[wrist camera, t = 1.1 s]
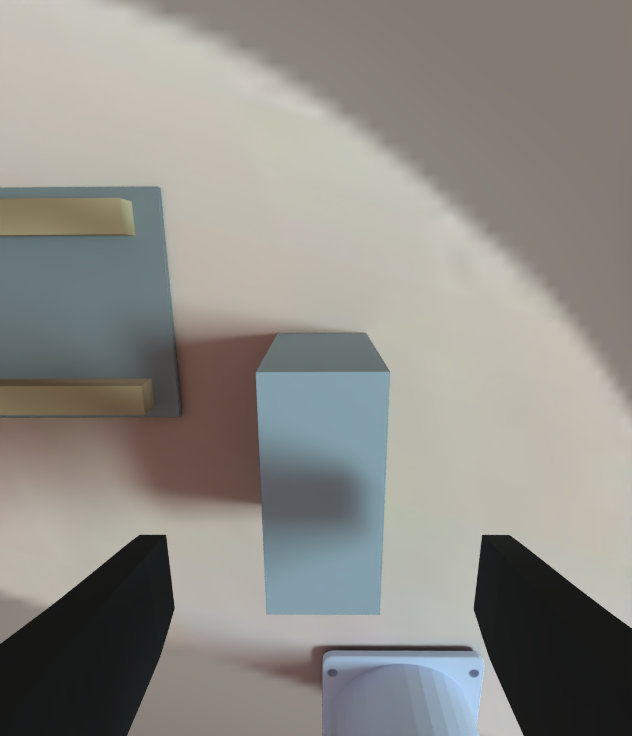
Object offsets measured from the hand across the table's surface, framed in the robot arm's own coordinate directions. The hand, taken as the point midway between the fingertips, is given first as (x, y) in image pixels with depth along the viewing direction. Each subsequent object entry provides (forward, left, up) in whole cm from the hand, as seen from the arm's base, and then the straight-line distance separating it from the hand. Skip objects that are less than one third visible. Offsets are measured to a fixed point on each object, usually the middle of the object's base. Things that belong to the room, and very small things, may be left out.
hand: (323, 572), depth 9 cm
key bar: (0, 0, -9) cm, 9 cm away
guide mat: (+5, +11, -9) cm, 15 cm away
